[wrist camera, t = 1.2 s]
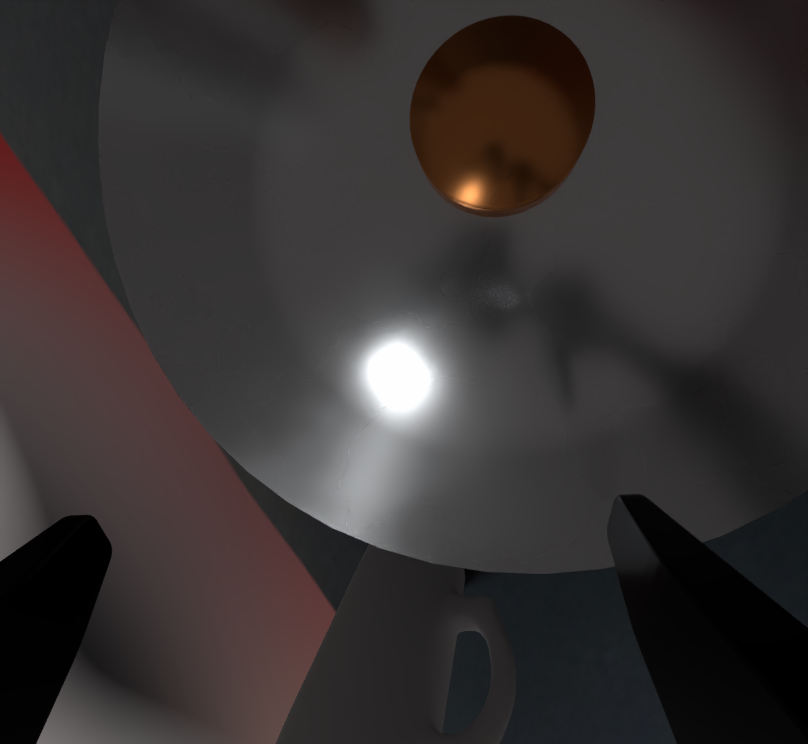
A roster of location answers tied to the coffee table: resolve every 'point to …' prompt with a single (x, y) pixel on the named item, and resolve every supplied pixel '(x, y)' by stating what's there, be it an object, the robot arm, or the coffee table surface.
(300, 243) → the lid
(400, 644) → the mug
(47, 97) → the coffee table surface
